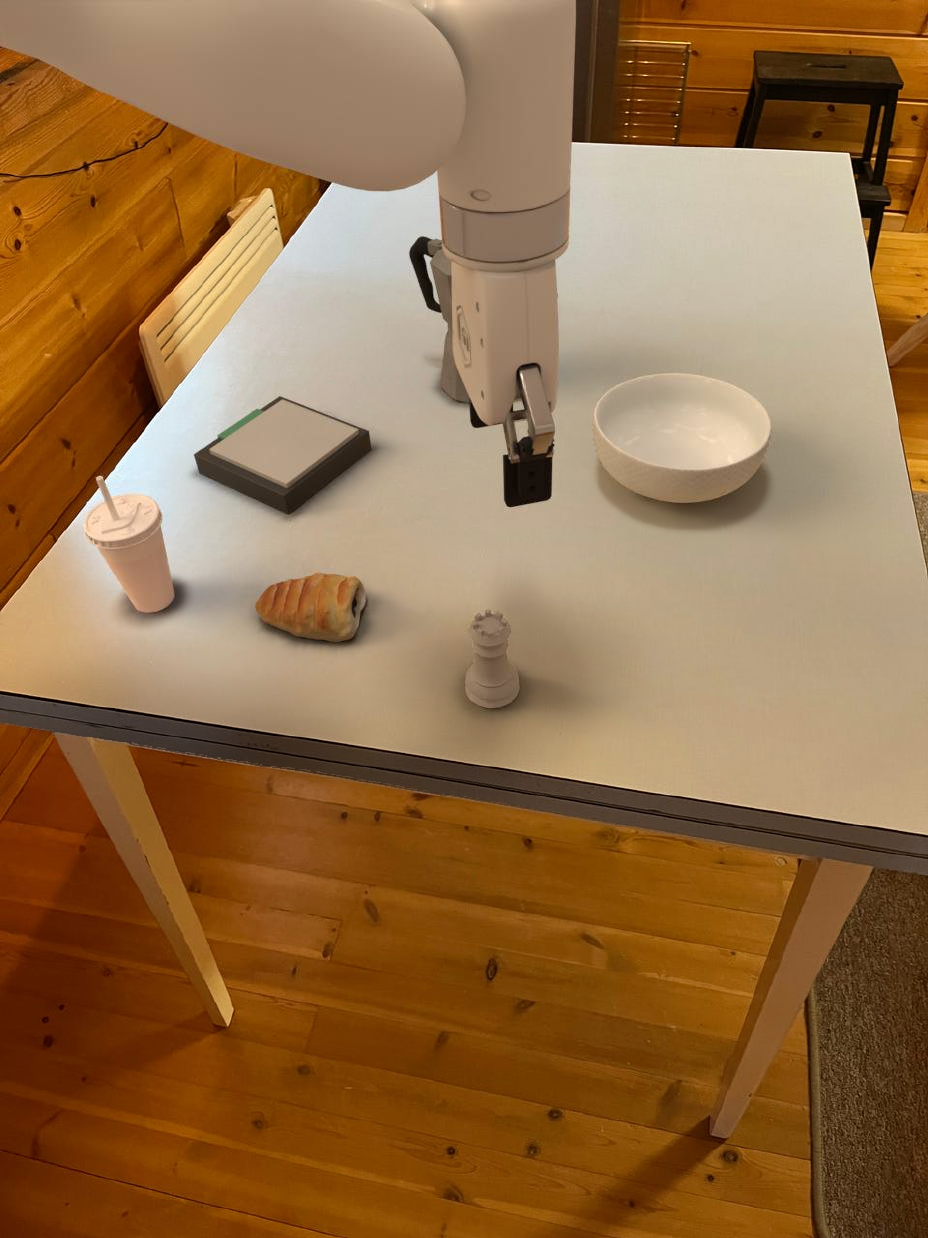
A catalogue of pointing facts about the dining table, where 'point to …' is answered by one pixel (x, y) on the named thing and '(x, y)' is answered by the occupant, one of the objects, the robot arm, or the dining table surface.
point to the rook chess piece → (491, 663)
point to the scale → (283, 453)
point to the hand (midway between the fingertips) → (508, 460)
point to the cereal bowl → (680, 436)
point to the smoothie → (132, 546)
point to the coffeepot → (439, 305)
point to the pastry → (314, 606)
